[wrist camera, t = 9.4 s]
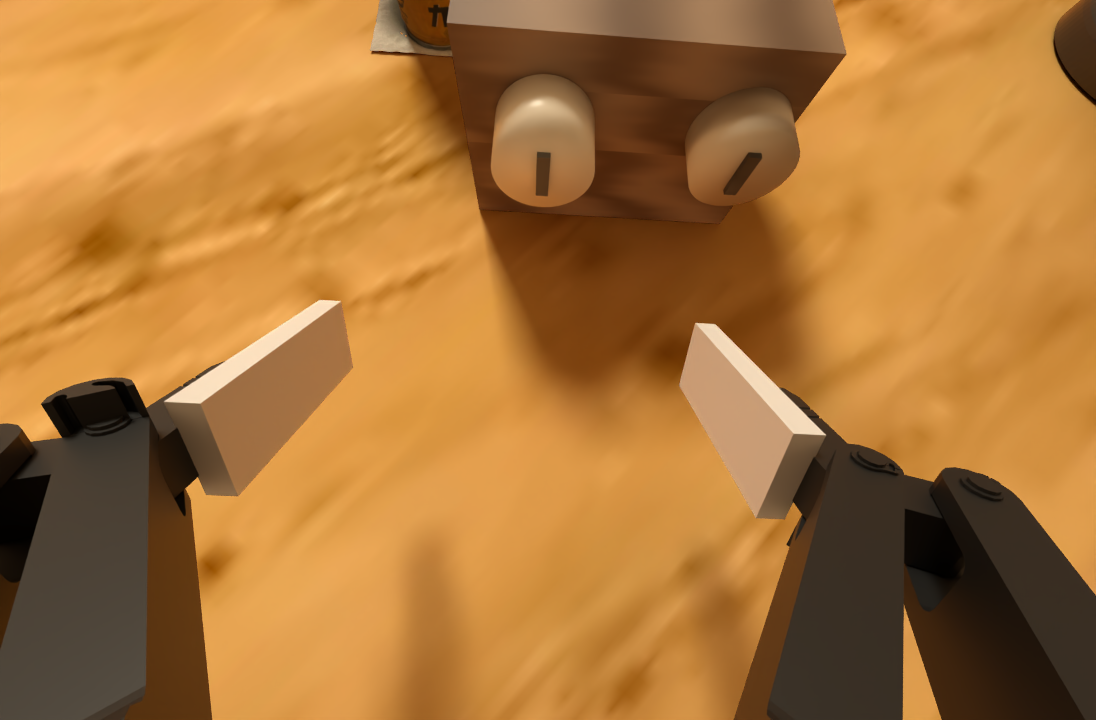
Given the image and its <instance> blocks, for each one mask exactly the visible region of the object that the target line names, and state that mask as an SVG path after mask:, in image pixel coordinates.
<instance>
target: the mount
mask: <svg viewBox="0 0 1096 720" xmlns="http://www.w3.org/2000/svg"><path fill="white" fill-rule="evenodd" d="M447 28H448V34H449V39H450V45H451V51H452V56H453V62H454V68H455V74H456V79H457V85H458V91H459V96H460V102H461V108H462V113H463V119H464V125H465V130H466V136H467V142H468V148H469V153H470V159H471V165H472V170H473V176H474V182H475V187H476V193H477V199H478V204H479V209H480V210H497V211H514V212H531V213H547V214H564V215H581V216H598V217H614V218H631V219H648V220H665V221H681V222H698V223H715V224H720V223H721V221H722V220H723V219H724V217H725V216H726V215H727V213H728V212H729V211H730V209H731V208H732V206H733V205H737V204H742V203H745V202H749V201H752V200H754V199H757V198H759V197H761V196H764V195H765V194H767V193H769V192H771V191H772V190H774V189H775V188H777V187H778V186H780V185H781V184H782V183H783V182H784V181H785V180H786V179H787V178H788V177H789V176H790V175H791V174H792V172H793V171H794V169H795V168H796V166H797V164H798V161H799V157H800V149H799V144H798V138H797V133H796V128H795V122H796V121H797V120H798V118H799V117H800V116H801V114H802V113H803V112H804V110H805V109H806V108H807V106H808V105H809V103H810V102H811V101H812V99H813V98H814V97H815V95H816V94H817V93H818V91H819V90H820V89H821V87H822V86H823V85H824V83H825V82H826V81H827V79H828V78H829V77H830V75H831V74H832V73H833V71H834V70H835V69H836V67H837V66H838V65H839V63H840V62H841V61H842V59H843V58H844V57H845V55H846V50H845V46H844V42H843V39H842V35H841V31H840V27H839V23H838V20H837V16H836V12H835V8H834V4H833V1H832V0H450V4H449V10H448V17H447ZM536 74H551V75H556V76H560V77H563V78H565V79H568V80H570V81H571V82H573V83H575V84H576V85H577V86H579V87H580V88H581V89H582V90H583V91H584V92H585V94H586V95H587V96H588V98H589V100H590V102H591V104H592V107H593V110H594V117H595V173H594V178H593V181H592V183H591V185H590V187H589V188H588V190H587V191H586V192H585V193H584V194H583V195H581V196H580V197H579V198H577V199H576V200H574V201H572V202H569V203H567V204H564V205H560V206H554V207H536V206H530V205H526V204H523V203H521V202H518V201H516V200H514V199H512V198H511V197H509V196H508V195H506V194H505V193H504V192H503V191H502V190H501V189H500V188H499V187H498V185H497V184H496V182H495V181H494V178H493V176H492V172H491V157H492V146H493V135H494V125H495V114H496V107H497V104H498V101H499V99H500V97H501V95H502V94H503V93H504V91H505V90H506V89H507V88H508V87H509V86H510V85H512V84H513V83H514V82H516V81H518V80H519V79H522V78H524V77H527V76H531V75H536Z"/></svg>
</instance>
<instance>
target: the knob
mask: <svg viewBox="0 0 1096 720" xmlns="http://www.w3.org/2000/svg"><path fill="white" fill-rule="evenodd" d="M491 172H492V176H493V178H494V181H495V182H496V184H497V185H498V187H499V188H500V189H501V190H502V191H503V192H504V193H505V194H506V195H508V196H509V197H511V198H512V199H514V200H516V201H518V202H521V203H523V204H526V205H530V206H536V207H554V206H560V205H564V204H567V203H569V202H572V201H574V200H576V199H577V198H579V197H580V196H581V195H583V194H584V193H585V192H586V191H587V190H588V188H589V187H590V185H591V183H592V181H593V178H594V173H595V117H594V110H593V107H592V104H591V102H590V100H589V98H588V96H587V95H586V94H585V92H584V91H583V90H582V89H581V88H580V87H579V86H577V85H576V84H575V83H573V82H571V81H570V80H568V79H565V78H563V77H560V76H556V75H551V74H536V75H531V76H527V77H524V78H522V79H519V80H518V81H516V82H514V83H513V84H512V85H510V86H509V87H508V88H507V89H506V90H505V91H504V93H503V94H502V95H501V97H500V99H499V101H498V104H497V107H496V114H495V125H494V135H493V146H492V157H491Z"/></svg>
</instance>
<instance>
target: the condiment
mask: <svg viewBox="0 0 1096 720" xmlns="http://www.w3.org/2000/svg"><path fill="white" fill-rule="evenodd" d="M449 4H450V0H380V2H379V9H378V14H377V19H376V23H377V24H376V25H375V29H374V35H373V40H372V44H371V49H370V51H387V52H394V51H398V52H406V53H409V52H413V53H421V54H427V55H437V56H452V51H451V45H450V39H449V34H448V28H447V17H448V10H449ZM400 32H402V33H403V34H401V33H400ZM405 35H407V37H405Z"/></svg>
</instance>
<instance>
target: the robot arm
mask: <svg viewBox="0 0 1096 720" xmlns="http://www.w3.org/2000/svg"><path fill="white" fill-rule="evenodd" d="M1055 45H1056V49H1057V52H1058V55H1059V57H1060V59H1061V61H1062V63H1063V65H1064V66H1065V68H1066V69H1067V71H1068V72H1069V74H1070V75H1071V76H1072V77H1073V79H1074V80H1075V81H1076V82H1077V83H1078V84H1079V85H1080V86H1081V87H1082V88H1083V89H1084V90H1085V91H1086V92H1087V93H1088V94H1089V95H1091V96H1092V97H1093V98H1094V99H1095V100H1096V0H1080V1H1079V2H1078V3H1077V4H1076V5H1074V6H1073V7H1072V8H1071V9H1070V10H1069V11H1067V12H1066V13H1065V14H1064V15H1063V16H1062V17H1061V18H1060V20H1059V21H1058V23H1057V26H1056V29H1055ZM352 368H353V364H352V358H351V353H350V347H349V342H348V336H347V331H346V326H345V320H344V315H343V309H342V304H341V301H329V300H319V301H317V302H316V303H314V304H313V305H311V306H310V307H308V308H306V309H305V310H303V311H302V312H300V313H299V314H297V315H296V316H294V317H293V318H291V319H290V320H288V321H286V322H285V323H283V324H282V325H280V326H279V327H277V328H276V329H274V330H273V331H271V332H270V333H268V334H267V335H265V336H263V337H262V338H260V339H259V340H257V341H256V342H254V343H253V344H251V345H250V346H248V347H247V348H245V349H244V350H242V351H240V352H239V353H237V354H236V355H234V356H233V357H231V358H230V359H228V360H227V361H224V362H221V363H219V364H216V365H214V366H211V367H210V368H208V369H206V370H205V371H203V372H202V373H200V374H199V375H197V376H196V378H192V379H191V380H189V381H188V382H186V383H185V384H183V387H182V386H180V387H178V388H177V389H175V390H174V391H172V392H170V393H169V394H167V395H166V396H164V397H163V398H161V399H159V400H158V401H156V402H155V403H153V404H152V405H150V406H149V407H147V408H146V407H145V405H144V403H143V401H142V399H141V397H140V395H139V393H138V391H137V389H136V387H135V385H134V383H133V382H132V380H130V379H126V378H104V379H97V380H92V381H88V382H84V383H80V384H76V385H73V386H70V387H68V388H65V389H62V390H60V391H58V392H56V393H54V394H52V395H51V396H49V397H47V398H46V399H45V400H44V401H43V402H42V403H41V405H42V406H43V408H44V410H45V411H46V413H47V414H48V416H49V417H50V419H51V421H52V422H53V424H54V425H55V427H56V428H57V430H58V432H59V433H60V435H61V436H62V438H58V439H50V440H42V441H34V442H30V440H29V439H28V438H27V436H26V435H25V433H24V432H23V430H22V429H21V428H20V427H19V426H18V425H14V424H0V720H212V713H211V703H210V693H209V683H208V673H207V663H206V652H205V642H204V632H203V622H202V612H201V601H200V591H199V581H198V571H197V561H196V551H195V540H194V530H193V520H192V510H191V500H190V498H189V495H188V493H187V491H186V489H185V488H186V487H187V486H188V485H190V484H191V483H192V482H193V481H194V480H195V479H196V478H197V477H198V478H199V480H200V482H201V485H202V487H203V489H204V491H205V493H206V495H221V496H239V495H240V494H241V492H242V491H243V490H244V489H245V488H246V487H247V486H248V485H249V483H250V482H251V481H252V480H253V479H254V478H255V477H256V476H257V475H258V473H259V472H260V471H261V470H262V469H263V468H264V467H265V466H266V464H267V463H268V462H269V461H270V460H271V459H272V458H273V457H274V456H275V454H276V453H277V452H278V451H279V450H280V449H281V448H282V447H283V445H284V444H285V443H286V442H287V441H288V440H289V439H290V438H291V436H292V435H293V434H294V433H295V432H296V431H297V430H298V429H299V428H300V426H301V425H302V424H303V423H304V422H305V421H306V420H307V419H308V417H309V416H310V415H311V414H312V413H313V412H314V411H315V410H316V409H317V407H318V406H319V405H320V404H321V403H322V402H323V401H324V400H325V398H326V397H327V396H328V395H329V394H330V393H331V392H332V391H333V389H334V388H335V387H336V386H337V385H338V384H339V383H340V382H341V381H342V379H343V378H344V377H345V376H346V375H347V374H348V373H349V372H350V370H351V369H352ZM679 386H680V388H681V390H682V391H683V393H684V395H685V396H686V398H687V400H688V402H689V403H690V405H691V407H692V409H693V410H694V412H695V414H696V415H697V417H698V419H699V421H700V422H701V424H702V426H703V428H704V429H705V431H706V433H707V434H708V436H709V438H710V440H711V441H712V443H713V445H714V447H715V448H716V450H717V452H718V453H719V455H720V457H721V459H722V460H723V462H724V464H725V466H726V467H727V469H728V471H729V472H730V474H731V476H732V478H733V479H734V481H735V483H736V484H737V486H738V488H739V490H740V491H741V493H742V495H743V497H744V498H745V500H746V502H747V503H748V505H749V507H750V509H751V510H752V512H753V514H754V516H755V517H756V518H767V519H785V517H786V515H787V513H788V511H789V509H790V507H791V505H792V503H793V502H794V503H795V505H796V506H797V508H798V509H799V511H800V512H801V513H802V516H801V518H800V520H799V521H798V523H797V525H796V527H795V529H794V531H793V533H792V535H791V537H790V539H789V541H788V543H787V545H788V546H790V547H789V551H788V554H787V557H786V560H785V563H784V566H783V569H782V572H781V575H780V578H779V581H778V585H777V588H776V591H775V594H774V597H773V600H772V603H771V606H770V609H769V612H768V616H767V619H766V622H765V625H764V628H763V631H762V634H761V637H760V640H759V643H758V646H757V650H756V653H755V656H754V659H753V662H752V665H751V668H750V671H749V674H748V677H747V680H746V684H745V687H744V690H743V693H742V696H741V699H740V702H739V705H738V708H737V711H736V715H735V718H734V720H903V620H904V606H905V609H906V612H907V615H908V618H909V621H910V624H911V627H912V630H913V633H914V636H915V639H916V642H917V645H918V648H919V652H920V655H921V658H922V661H923V664H924V667H925V670H926V673H927V676H928V679H929V682H930V685H931V688H932V691H933V694H934V697H935V700H936V703H937V706H938V710H939V713H940V716H941V719H942V720H1096V595H1095V594H1094V593H1093V591H1092V590H1091V589H1090V588H1089V586H1088V585H1087V584H1086V582H1085V581H1084V580H1083V579H1082V577H1081V576H1080V575H1079V574H1078V572H1077V571H1076V570H1075V568H1074V567H1073V566H1072V565H1071V563H1070V562H1069V561H1068V560H1067V558H1066V557H1065V556H1064V554H1063V553H1062V552H1061V551H1060V549H1059V548H1058V547H1057V546H1056V544H1055V543H1054V542H1053V540H1052V539H1051V538H1050V537H1049V535H1048V534H1047V533H1046V532H1045V530H1044V529H1043V528H1042V526H1041V525H1040V524H1039V523H1038V521H1037V520H1036V519H1035V518H1034V516H1033V515H1032V514H1031V512H1030V511H1029V510H1028V509H1027V507H1026V506H1025V505H1024V504H1023V502H1022V501H1021V500H1020V499H1019V498H1018V497H1017V496H1016V495H1015V494H1014V493H1013V492H1012V491H1010V490H1009V489H1007V488H1006V487H1004V486H1002V485H1001V484H1000V483H999V482H998V481H996V480H994V479H992V478H989V477H988V476H985V475H983V474H980V473H975V472H972V471H969V470H965V469H960V468H955V467H954V468H945V469H944V470H942V471H941V473H940V474H939V475H938V477H937V478H936V480H935V481H934V482H931V481H927V480H923V479H919V478H915V477H911V476H907V475H904V473H903V470H902V469H901V468H900V467H899V466H898V465H897V464H896V463H895V462H894V461H893V460H891V459H890V458H888V457H887V456H885V455H883V454H881V453H879V452H877V451H875V450H873V449H870V448H867V447H864V446H860V445H855V444H847V443H846V442H845V441H844V440H843V439H842V438H841V437H840V436H839V435H838V434H837V433H836V432H835V431H834V430H833V429H832V428H831V427H830V426H829V425H828V424H826V423H825V422H824V421H823V420H822V419H819V416H818V415H817V414H816V413H815V412H814V411H813V410H810V407H809V406H808V405H807V404H806V403H805V402H804V401H802V400H801V399H800V398H799V397H798V396H796V395H794V394H793V393H791V392H789V391H788V390H786V389H784V388H778V387H777V386H776V385H775V384H774V383H773V382H772V381H771V380H770V379H769V378H768V377H767V376H766V375H765V374H764V373H763V372H762V371H761V370H760V369H759V368H758V367H757V366H756V365H755V364H754V363H753V362H752V360H751V359H750V358H749V357H748V356H747V355H746V354H745V353H744V352H743V351H742V350H741V349H740V348H739V347H738V346H737V345H736V344H735V343H734V342H733V341H732V340H731V339H730V338H729V337H728V336H727V335H726V334H725V333H724V332H723V331H722V330H721V329H720V328H719V327H718V326H717V325H716V324H705V323H695V326H694V330H693V333H692V337H691V341H690V345H689V349H688V353H687V357H686V360H685V364H684V368H683V372H682V376H681V380H680V384H679Z"/></svg>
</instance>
